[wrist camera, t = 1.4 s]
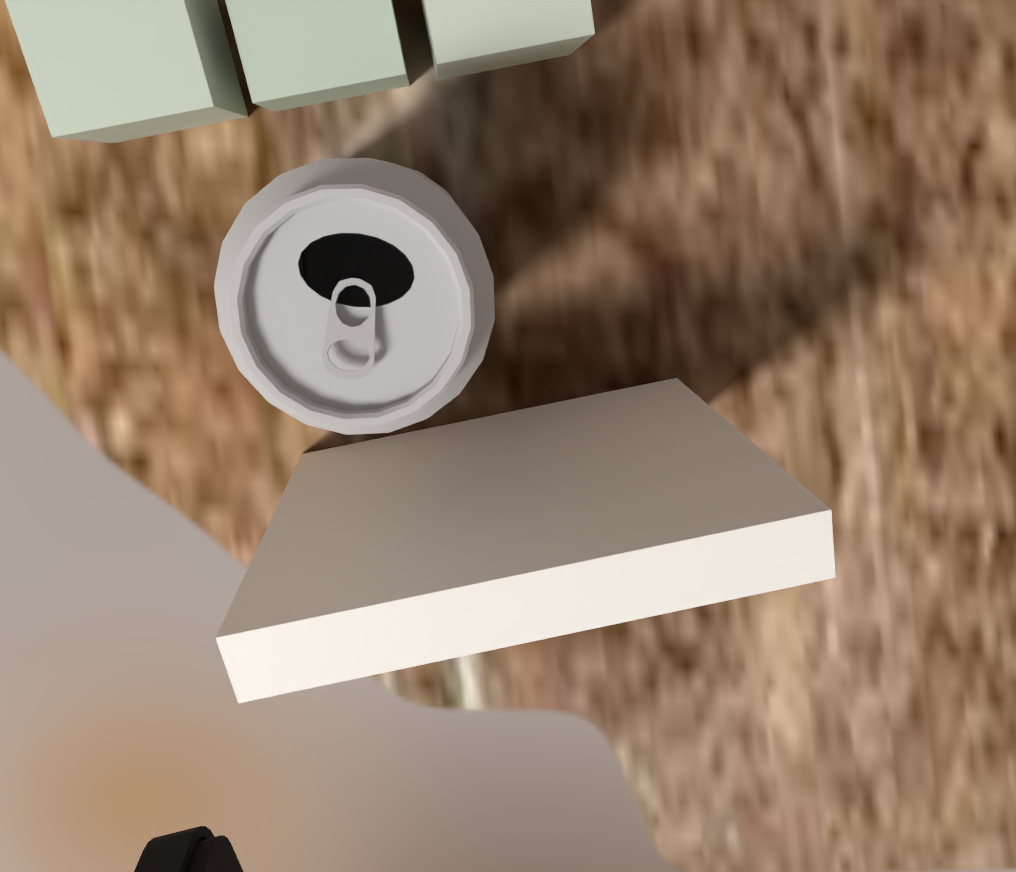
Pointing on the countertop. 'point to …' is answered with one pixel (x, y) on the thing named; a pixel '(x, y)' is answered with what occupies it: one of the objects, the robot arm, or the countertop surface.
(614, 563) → the rack
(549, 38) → the offcut
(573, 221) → the countertop surface
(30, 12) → the offcut
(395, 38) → the offcut mid
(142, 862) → the robot arm
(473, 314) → the can
